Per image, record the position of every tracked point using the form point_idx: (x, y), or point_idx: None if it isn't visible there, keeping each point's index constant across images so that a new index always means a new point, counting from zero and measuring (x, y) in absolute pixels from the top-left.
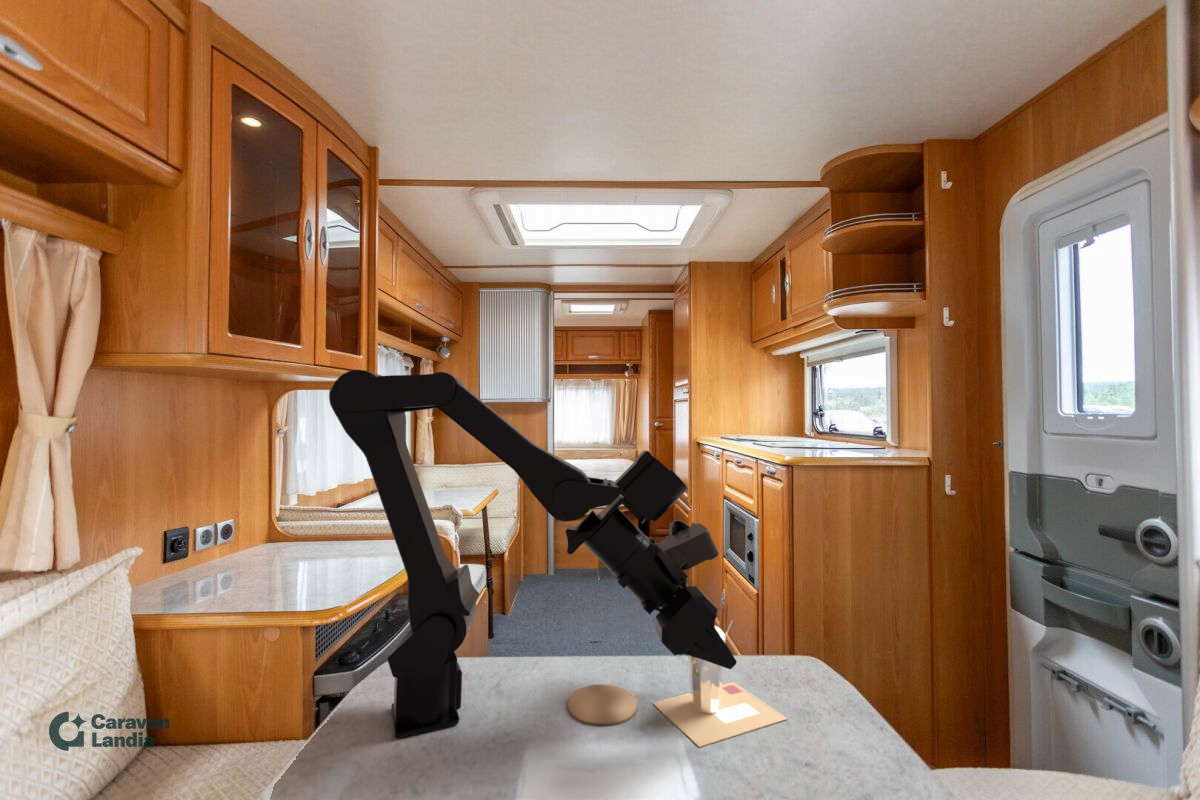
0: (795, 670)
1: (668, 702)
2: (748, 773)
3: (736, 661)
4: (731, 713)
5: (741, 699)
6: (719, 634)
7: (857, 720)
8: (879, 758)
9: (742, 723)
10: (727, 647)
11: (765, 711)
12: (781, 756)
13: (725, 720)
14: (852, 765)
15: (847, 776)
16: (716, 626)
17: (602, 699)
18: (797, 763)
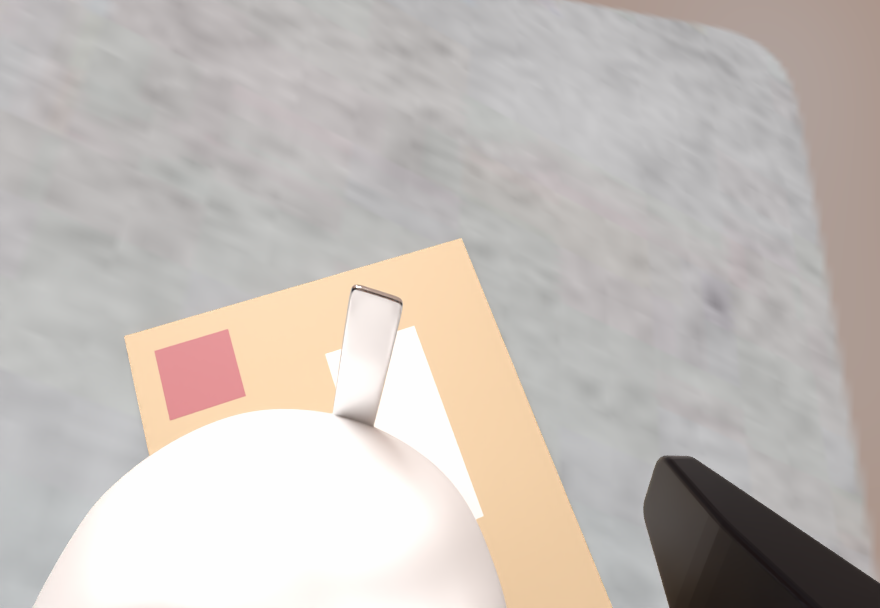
0: (89, 27)
1: None
2: None
3: (692, 458)
4: None
5: (297, 362)
6: (432, 516)
7: (477, 26)
8: (670, 84)
9: (486, 434)
10: (864, 573)
11: (405, 299)
12: (682, 368)
13: None
14: (709, 172)
15: (761, 214)
16: (209, 477)
17: None
18: (715, 331)
